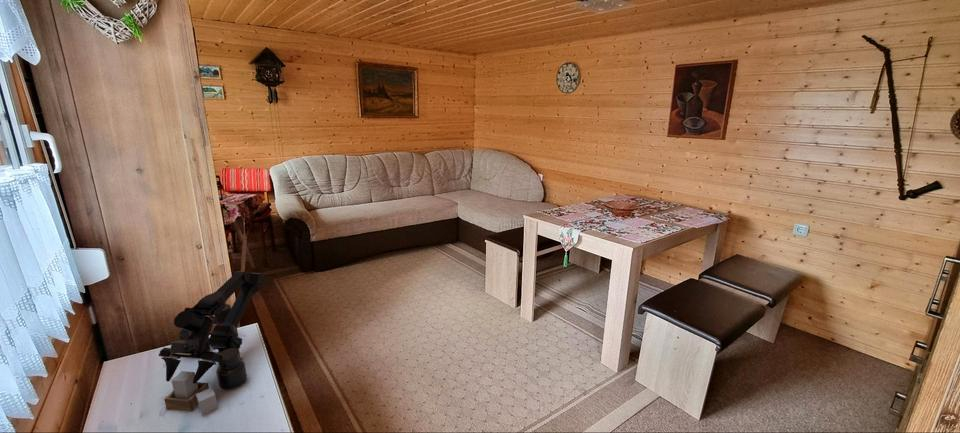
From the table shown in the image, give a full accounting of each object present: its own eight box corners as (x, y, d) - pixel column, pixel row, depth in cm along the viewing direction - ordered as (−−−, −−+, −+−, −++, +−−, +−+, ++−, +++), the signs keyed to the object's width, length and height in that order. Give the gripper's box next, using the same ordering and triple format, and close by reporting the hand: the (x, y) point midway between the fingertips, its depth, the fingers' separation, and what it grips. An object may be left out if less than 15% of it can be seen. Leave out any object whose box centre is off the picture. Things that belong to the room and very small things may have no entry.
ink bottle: (244, 370, 152) (239, 342, 149) (252, 382, 146) (247, 354, 143) (214, 382, 146) (209, 354, 142) (221, 395, 140) (215, 366, 136)
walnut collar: (186, 390, 142) (184, 380, 140) (209, 392, 141) (207, 383, 140) (166, 408, 133) (164, 399, 132) (191, 411, 133) (188, 401, 132)
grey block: (214, 400, 138) (211, 387, 136) (217, 408, 135) (215, 394, 133) (198, 407, 134) (195, 394, 133) (202, 415, 131) (199, 401, 130)
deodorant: (231, 333, 174) (226, 302, 170) (238, 338, 171) (233, 307, 166) (216, 339, 170) (210, 308, 165) (223, 345, 166) (217, 313, 162)
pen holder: (216, 348, 164) (212, 326, 161) (192, 361, 156) (187, 339, 153) (201, 341, 168) (197, 320, 165) (177, 354, 160) (172, 332, 157)
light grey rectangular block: (187, 395, 139) (181, 371, 136) (200, 396, 139) (194, 372, 136) (177, 405, 135) (171, 380, 132) (190, 406, 135) (184, 381, 132)
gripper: (156, 327, 134) (134, 377, 127) (210, 331, 133) (191, 382, 125) (180, 334, 144) (160, 381, 137) (230, 337, 142) (213, 385, 135)
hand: (180, 382), depth 133 cm, fingers open, 9 cm apart
